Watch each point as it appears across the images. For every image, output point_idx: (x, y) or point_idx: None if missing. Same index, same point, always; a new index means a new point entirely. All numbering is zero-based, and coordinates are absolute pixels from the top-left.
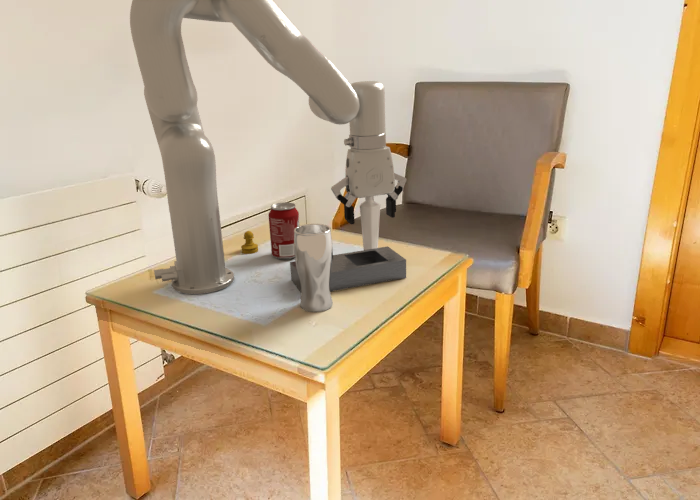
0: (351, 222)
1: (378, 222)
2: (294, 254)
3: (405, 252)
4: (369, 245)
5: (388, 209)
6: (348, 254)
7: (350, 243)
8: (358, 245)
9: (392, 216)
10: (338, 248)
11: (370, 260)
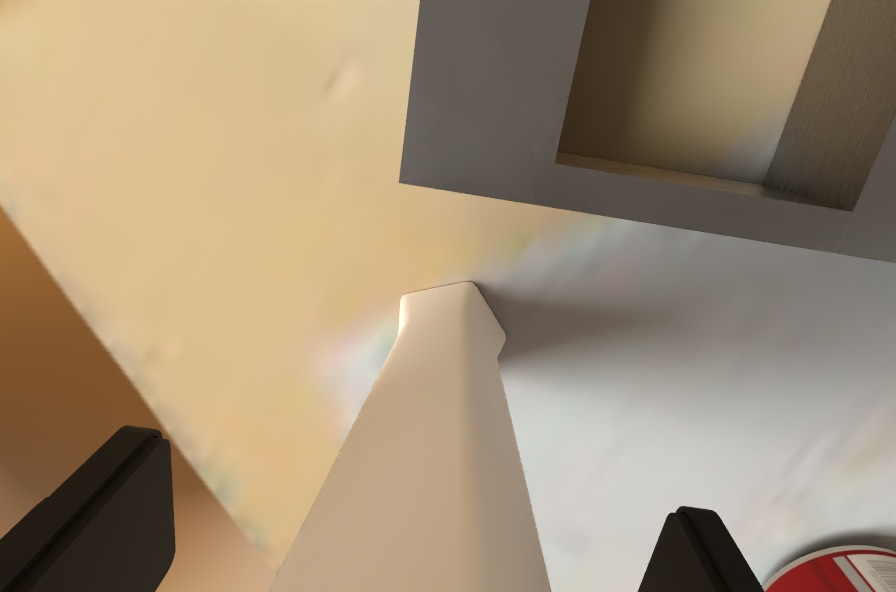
0: (721, 525)
1: (356, 443)
2: (857, 557)
3: (207, 273)
4: (476, 343)
5: (125, 574)
6: (811, 205)
7: None
8: None
9: (151, 440)
10: None
11: (581, 160)
